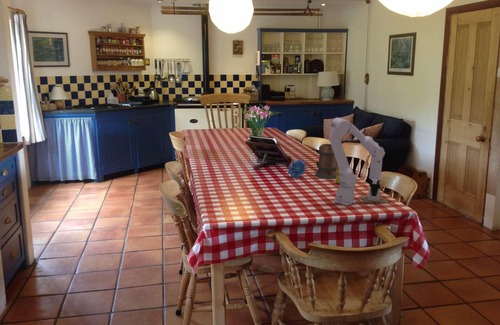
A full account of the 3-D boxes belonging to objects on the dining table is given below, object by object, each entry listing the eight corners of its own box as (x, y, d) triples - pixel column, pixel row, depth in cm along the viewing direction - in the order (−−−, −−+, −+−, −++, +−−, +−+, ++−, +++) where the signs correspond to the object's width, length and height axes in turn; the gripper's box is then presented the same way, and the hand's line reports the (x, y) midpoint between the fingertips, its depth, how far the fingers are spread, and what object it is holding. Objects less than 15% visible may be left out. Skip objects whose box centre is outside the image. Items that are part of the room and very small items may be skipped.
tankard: (346, 178, 283) (347, 146, 278) (321, 180, 278) (322, 148, 274) (329, 169, 305) (330, 140, 300) (306, 171, 300) (307, 141, 296)
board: (388, 203, 234) (389, 196, 233) (365, 204, 233) (366, 196, 232) (380, 196, 245) (381, 189, 244) (358, 197, 244) (359, 189, 244)
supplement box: (335, 183, 272) (336, 165, 269) (344, 182, 274) (345, 164, 272) (340, 185, 266) (341, 167, 264) (349, 184, 269) (350, 166, 266)
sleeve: (379, 201, 235) (379, 192, 234) (368, 200, 237) (368, 191, 236) (379, 198, 241) (380, 189, 240) (368, 197, 242) (369, 188, 241)
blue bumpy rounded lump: (304, 175, 288) (305, 157, 285) (307, 178, 281) (307, 159, 279) (286, 176, 286) (286, 157, 284) (288, 179, 280) (289, 160, 277)
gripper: (383, 172, 227) (381, 198, 230) (383, 166, 241) (382, 190, 244) (369, 171, 229) (367, 197, 232) (370, 165, 243) (368, 189, 246)
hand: (374, 193), depth 238 cm, fingers open, 7 cm apart
